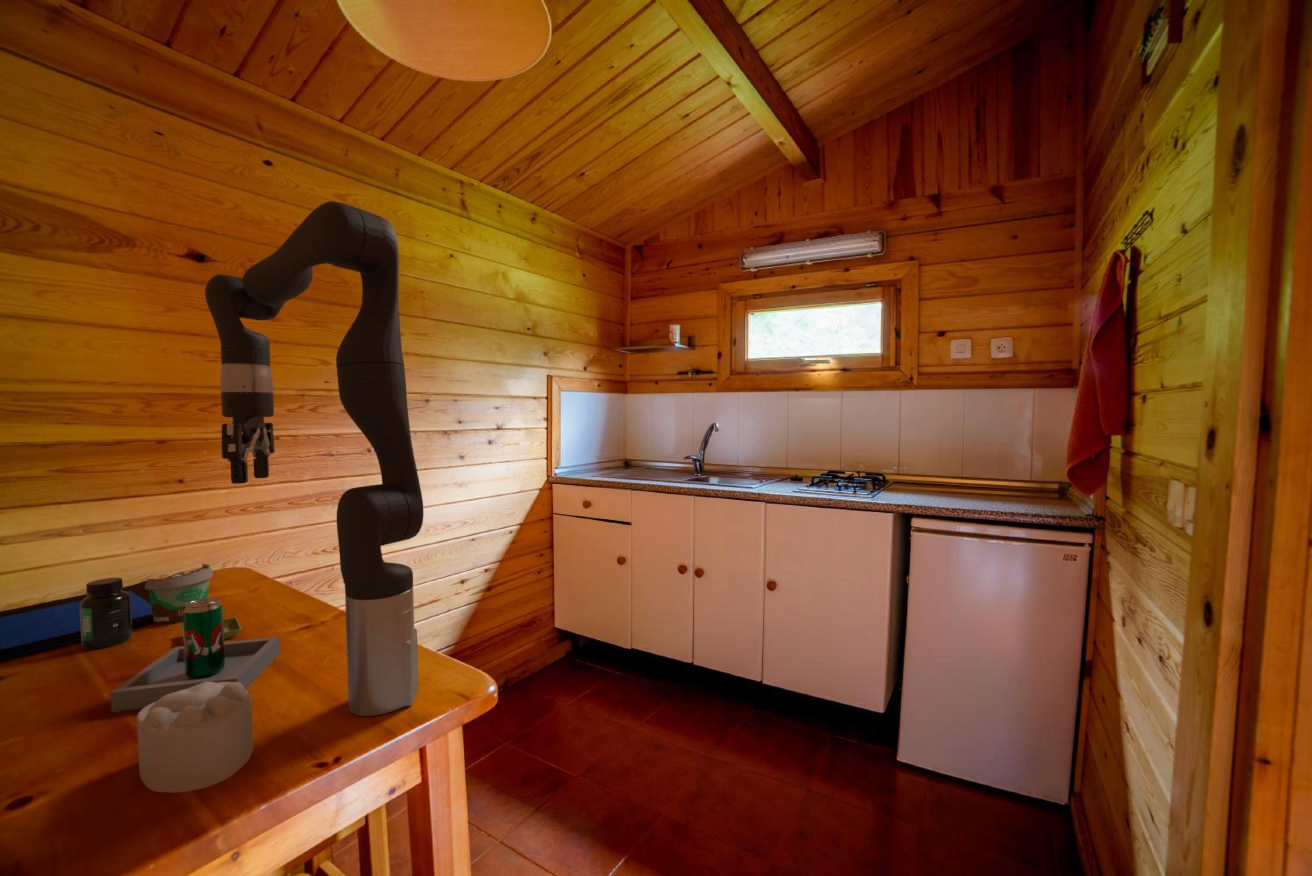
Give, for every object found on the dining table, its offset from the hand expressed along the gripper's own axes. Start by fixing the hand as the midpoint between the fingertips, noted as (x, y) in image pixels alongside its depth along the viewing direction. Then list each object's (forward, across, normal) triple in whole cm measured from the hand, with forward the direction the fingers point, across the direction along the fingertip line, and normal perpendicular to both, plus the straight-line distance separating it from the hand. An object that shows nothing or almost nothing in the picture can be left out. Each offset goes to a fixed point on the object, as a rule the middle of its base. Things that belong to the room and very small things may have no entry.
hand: (251, 480), depth 98 cm
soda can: (+31, -9, +4) cm, 33 cm away
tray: (+32, -9, +4) cm, 33 cm away
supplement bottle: (+32, +13, +30) cm, 46 cm away
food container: (+32, +24, +22) cm, 46 cm away
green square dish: (+32, +11, +12) cm, 36 cm away
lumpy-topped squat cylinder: (+32, -34, -7) cm, 47 cm away
